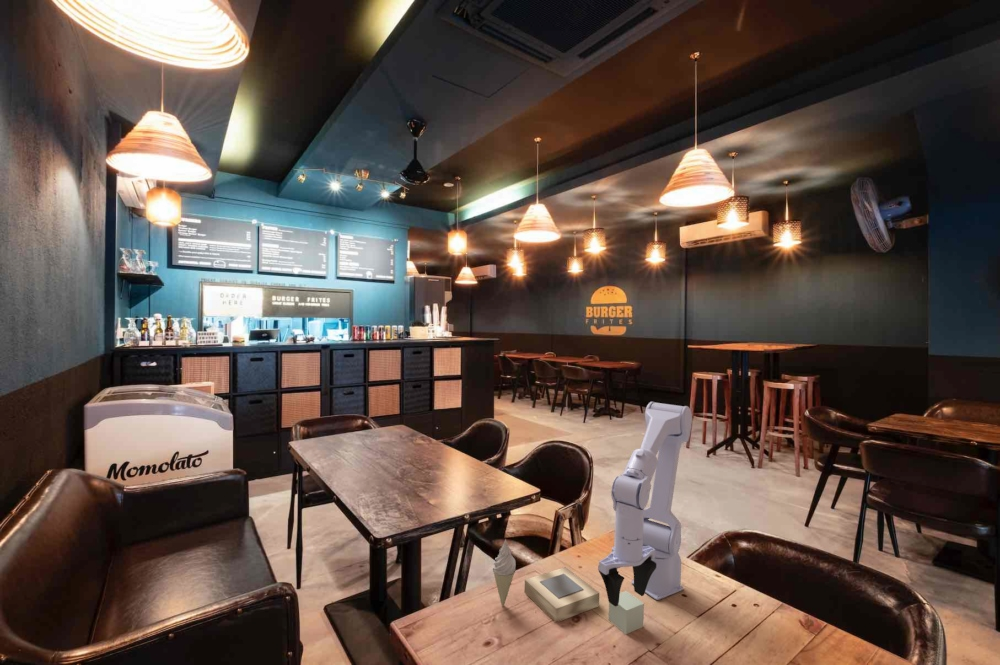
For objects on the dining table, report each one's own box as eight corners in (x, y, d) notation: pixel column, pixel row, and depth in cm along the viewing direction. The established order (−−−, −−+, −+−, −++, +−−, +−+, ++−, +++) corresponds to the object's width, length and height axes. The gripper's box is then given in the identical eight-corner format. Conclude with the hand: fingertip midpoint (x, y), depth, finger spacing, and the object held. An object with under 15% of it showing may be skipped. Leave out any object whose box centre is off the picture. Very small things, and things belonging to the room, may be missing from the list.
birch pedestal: (565, 578, 111) (565, 566, 111) (599, 606, 101) (599, 591, 100) (524, 592, 105) (524, 578, 105) (556, 622, 94) (556, 607, 94)
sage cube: (625, 613, 98) (626, 590, 98) (643, 627, 94) (644, 603, 94) (608, 620, 96) (609, 597, 96) (625, 634, 92) (626, 610, 91)
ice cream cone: (512, 614, 97) (514, 545, 96) (489, 611, 98) (491, 542, 97) (516, 600, 101) (518, 534, 101) (494, 597, 102) (496, 532, 102)
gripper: (638, 520, 102) (636, 579, 102) (589, 533, 94) (587, 597, 95) (664, 533, 96) (661, 596, 96) (614, 548, 88) (611, 616, 89)
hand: (626, 598), depth 95 cm, fingers open, 7 cm apart
